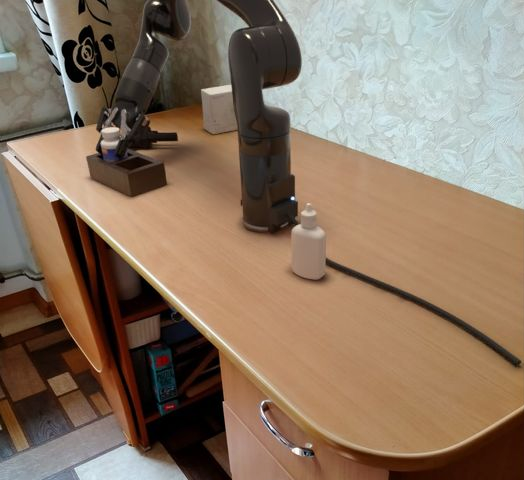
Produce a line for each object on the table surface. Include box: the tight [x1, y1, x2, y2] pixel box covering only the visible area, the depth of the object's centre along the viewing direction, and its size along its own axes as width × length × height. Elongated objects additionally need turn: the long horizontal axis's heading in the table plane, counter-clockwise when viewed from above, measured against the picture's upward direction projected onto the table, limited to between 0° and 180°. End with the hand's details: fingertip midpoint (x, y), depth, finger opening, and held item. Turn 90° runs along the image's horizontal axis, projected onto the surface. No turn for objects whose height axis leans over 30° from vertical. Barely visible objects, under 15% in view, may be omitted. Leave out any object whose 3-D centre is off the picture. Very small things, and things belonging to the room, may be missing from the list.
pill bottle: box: [101, 126, 128, 162], centre depth 129 cm, size 5×5×10 cm
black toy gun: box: [128, 125, 179, 149], centre depth 148 cm, size 5×20×15 cm
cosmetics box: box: [200, 84, 238, 135], centre depth 156 cm, size 10×6×10 cm, turn 119°
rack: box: [85, 148, 168, 198], centre depth 129 cm, size 17×9×5 cm, turn 44°
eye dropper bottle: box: [290, 202, 327, 281], centre depth 91 cm, size 4×6×12 cm
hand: (108, 154), depth 128 cm, fingers closed on pill bottle, 5 cm apart
